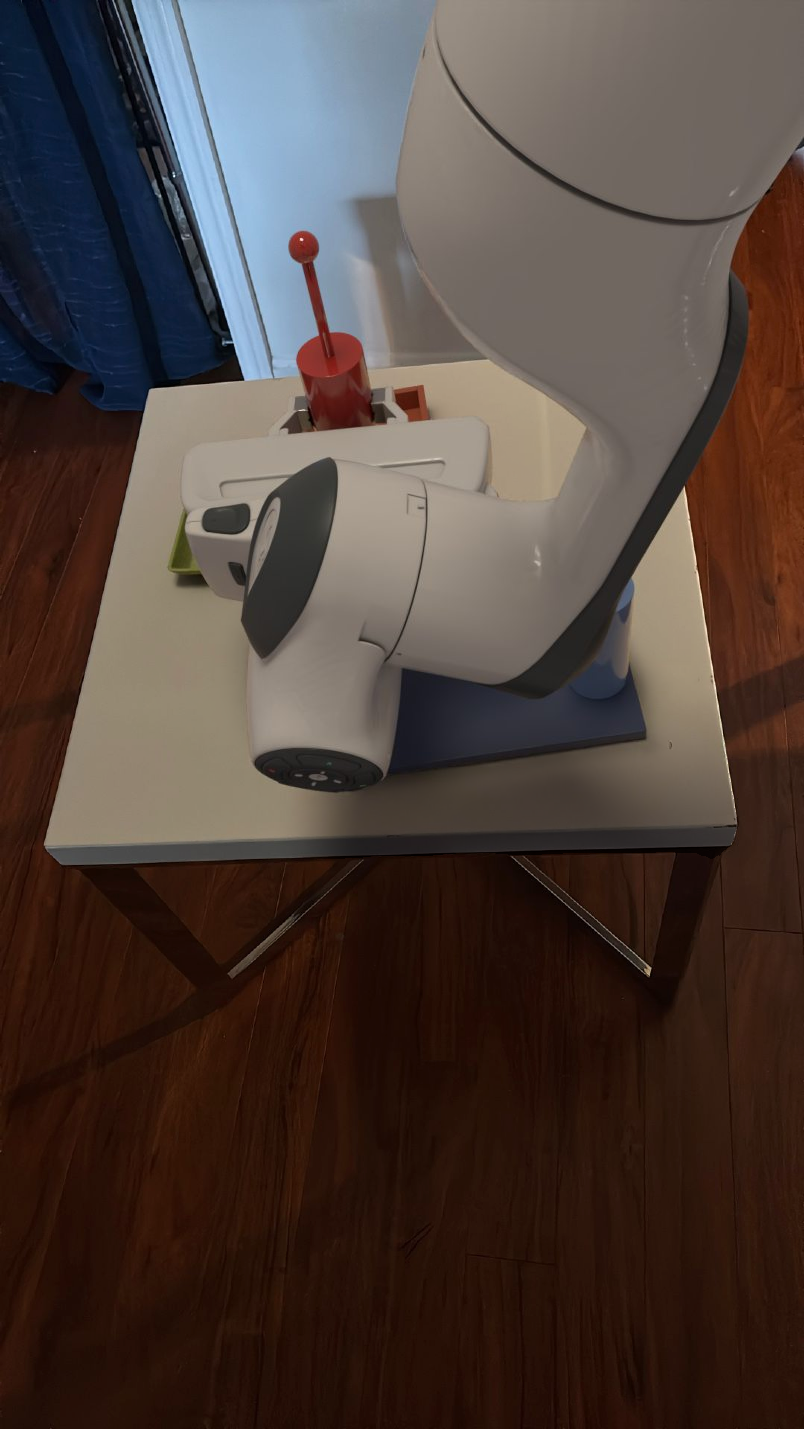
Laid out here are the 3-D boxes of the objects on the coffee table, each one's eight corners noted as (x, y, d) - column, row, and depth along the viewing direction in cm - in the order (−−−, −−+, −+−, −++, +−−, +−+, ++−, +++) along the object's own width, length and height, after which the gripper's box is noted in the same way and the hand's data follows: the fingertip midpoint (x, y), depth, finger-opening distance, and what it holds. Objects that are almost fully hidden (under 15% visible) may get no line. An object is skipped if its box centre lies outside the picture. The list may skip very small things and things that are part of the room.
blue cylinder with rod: (621, 645, 77) (633, 461, 61) (633, 694, 74) (649, 516, 59) (561, 654, 77) (558, 474, 61) (572, 704, 75) (571, 528, 59)
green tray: (273, 585, 86) (267, 569, 84) (173, 586, 87) (165, 570, 86) (289, 507, 90) (284, 489, 89) (194, 509, 92) (187, 492, 90)
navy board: (621, 641, 78) (622, 633, 77) (646, 738, 73) (646, 730, 73) (359, 681, 79) (357, 673, 79) (367, 778, 75) (365, 771, 74)
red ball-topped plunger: (383, 441, 77) (335, 204, 61) (388, 483, 74) (339, 249, 59) (325, 451, 77) (262, 218, 61) (328, 493, 75) (263, 262, 59)
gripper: (498, 501, 60) (490, 344, 68) (158, 531, 63) (186, 377, 70) (504, 571, 65) (496, 419, 73) (190, 597, 68) (213, 447, 75)
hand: (342, 399), depth 71 cm, fingers closed on red ball-topped plunger, 4 cm apart
